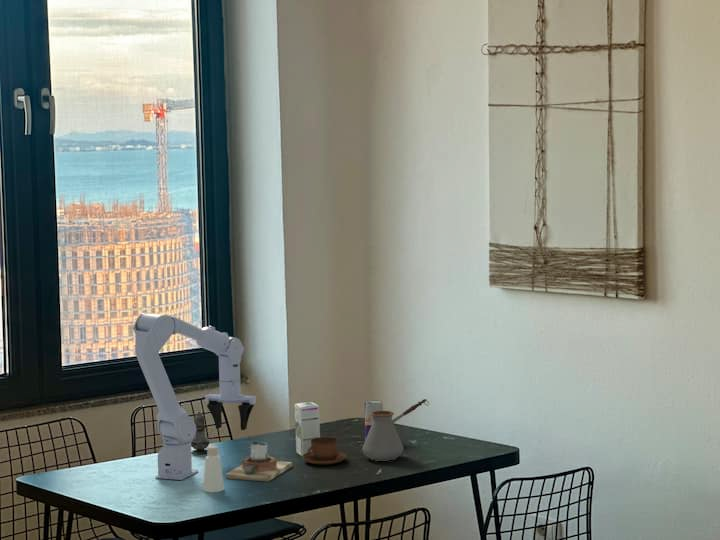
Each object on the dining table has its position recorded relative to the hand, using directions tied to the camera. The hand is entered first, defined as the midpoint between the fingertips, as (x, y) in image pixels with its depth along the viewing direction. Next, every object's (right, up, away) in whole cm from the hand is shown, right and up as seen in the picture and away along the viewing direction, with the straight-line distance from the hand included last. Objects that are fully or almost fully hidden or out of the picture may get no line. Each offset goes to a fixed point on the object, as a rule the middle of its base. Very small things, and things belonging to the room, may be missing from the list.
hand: (231, 428), depth 313 cm
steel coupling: (+9, -9, -11) cm, 17 cm away
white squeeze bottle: (-1, -12, -27) cm, 30 cm away
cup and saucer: (+26, -9, 0) cm, 27 cm away
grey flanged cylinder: (-10, -9, +13) cm, 19 cm away
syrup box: (+21, -9, +8) cm, 24 cm away
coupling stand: (+9, -10, -11) cm, 17 cm away
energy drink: (+40, -7, +23) cm, 46 cm away
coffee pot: (+46, -9, +5) cm, 47 cm away
